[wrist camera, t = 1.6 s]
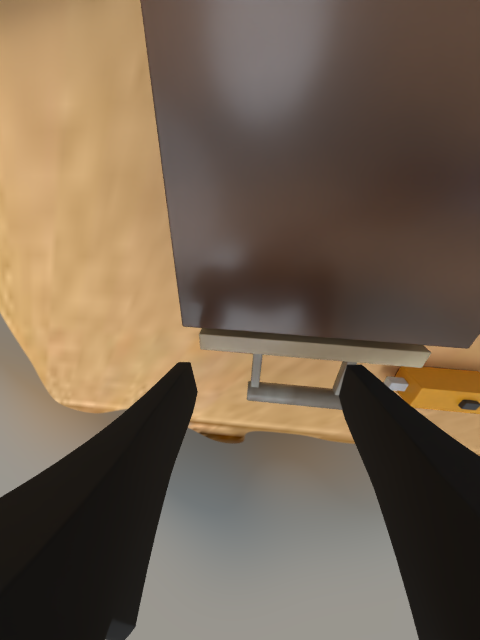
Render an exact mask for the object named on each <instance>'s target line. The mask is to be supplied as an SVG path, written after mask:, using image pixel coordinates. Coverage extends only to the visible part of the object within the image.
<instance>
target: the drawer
mask: <svg viewBox="0 0 480 640" xmlns="http://www.w3.org/2000/svg"><path fill="white" fill-rule="evenodd" d="M199 338H200V349H204V350H215V351H227V352H239V353H251V354H253V363H252V375H251V381H248V392H247V400H249V401H259V402H269V403H279V404H289V405H299V406H309V407H319V408H329V409H339V410H342V407H341V403H340V399H339V393H340V389H341V385H342V381H343V377H344V374H345V370H346V366H347V365H356V364H357V363H369V364H381V365H392V366H404V367H416V368H422V367H423V365H424V364H425V362H426V360H427V359H428V357H429V356H430V354H431V352H430V351H429V350H428V349H427V348H426V347H424V346H423V345H416V344H403V343H390V342H377V341H364V340H351V339H338V338H326V337H313V336H300V335H287V334H274V333H261V332H248V331H236V330H223V329H210V328H202V329H201V331H200V333H199ZM262 355H274V356H286V357H298V358H310V359H322V360H333V361H343V362H342V365H341V367H340V370H339V373H338V375H337V378H336V380H335V383H334V386H333V389H329V388H319V387H308V386H297V385H287V384H276V383H265V382H259V381H260V372H261V364H262Z"/></svg>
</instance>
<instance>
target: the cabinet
mask: <svg viewBox="0 0 480 640" xmlns="http://www.w3.org/2000/svg"><path fill="white" fill-rule="evenodd" d="M140 1H141V8H142V16H143V24H144V31H145V39H146V47H147V55H148V62H149V70H150V78H151V86H152V93H153V101H154V109H155V116H156V124H157V132H158V140H159V147H160V155H161V163H162V171H163V178H164V186H165V194H166V201H167V209H168V217H169V225H170V232H171V240H172V248H173V255H174V263H175V271H176V279H177V286H178V294H179V302H180V310H181V317H182V325H183V326H184V327H197V328H210V329H223V330H236V331H248V332H261V333H274V334H287V335H300V336H313V337H326V338H338V339H351V340H364V341H377V342H390V343H403V344H416V345H428V346H441V347H454V348H469V347H470V346H471V345H472V343H473V342H474V341H475V339H476V338H477V337H478V335H479V334H480V0H140Z"/></svg>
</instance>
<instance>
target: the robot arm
mask: <svg viewBox="0 0 480 640" xmlns="http://www.w3.org/2000/svg"><path fill="white" fill-rule="evenodd" d="M197 392H198V391H197V387H196V383H195V379H194V375H193V371H192V367H191V363H190V362H178V363H177V364H176V365H175V366H174V367H173V368H172V369H171V370H170V371H169V372H168V373H167V374H166V375H165V376H164V377H163V378H162V379H160V380H159V381H158V382H157V383H156V384H155V385H154V386H153V387H152V388H151V389H150V390H149V391H148V392H147V393H146V394H145V395H144V396H142V397H141V398H140V399H139V400H138V401H137V402H136V403H134V404H133V405H132V406H131V407H130V408H129V409H128V410H126V411H125V412H124V413H123V414H122V415H121V416H119V417H118V418H117V419H116V420H114V421H113V422H112V423H111V424H110V425H108V426H107V427H106V428H104V429H103V430H102V431H100V432H99V433H98V434H96V435H95V436H94V437H92V438H91V439H90V440H88V441H87V442H85V443H84V444H83V445H81V446H80V447H78V448H77V449H75V450H74V451H73V452H71V453H70V454H68V455H67V456H65V457H64V458H62V459H61V460H59V461H58V462H57V463H55V464H54V465H52V466H50V467H49V468H47V469H46V470H44V471H43V472H41V473H40V474H38V475H36V476H35V477H33V478H32V479H30V480H29V481H27V482H25V483H24V484H22V485H20V486H19V487H17V488H16V489H14V490H12V491H10V492H9V493H7V494H5V495H4V496H3V497H1V498H0V640H105V639H106V640H125V639H126V638H127V637H128V636H129V634H130V633H131V632H132V631H133V629H134V628H135V626H136V621H137V616H138V611H139V606H140V602H141V597H142V592H143V587H144V583H145V578H146V573H147V569H148V564H149V560H150V556H151V551H152V547H153V543H154V538H155V534H156V530H157V525H158V522H159V518H160V514H161V510H162V506H163V502H164V498H165V495H166V491H167V487H168V484H169V480H170V476H171V473H172V470H173V467H174V463H175V460H176V458H177V455H178V452H179V450H180V447H181V444H182V441H183V438H184V436H185V433H186V430H187V428H188V425H189V422H190V419H191V416H192V413H193V410H194V406H195V401H196V397H197ZM339 399H340V403H341V407H342V410H343V413H344V417H345V420H346V422H347V425H348V427H349V429H350V432H351V434H352V437H353V439H354V441H355V444H356V446H357V449H358V451H359V453H360V456H361V458H362V460H363V463H364V465H365V467H366V470H367V472H368V474H369V477H370V480H371V482H372V485H373V487H374V490H375V493H376V496H377V499H378V502H379V505H380V508H381V511H382V514H383V517H384V520H385V523H386V527H387V530H388V533H389V536H390V539H391V543H392V546H393V549H394V552H395V555H396V558H397V562H398V566H399V569H400V573H401V576H402V580H403V583H404V587H405V590H406V593H407V597H408V600H409V604H410V608H411V611H412V615H413V619H414V623H415V626H416V630H417V634H418V638H419V640H480V456H478V455H477V454H475V453H474V452H472V451H471V450H469V449H468V448H466V447H465V446H464V445H462V444H461V443H459V442H458V441H456V440H455V439H454V438H452V437H451V436H450V435H448V434H447V433H445V432H444V431H443V430H441V429H440V428H439V427H437V426H436V425H435V424H434V423H432V422H431V421H430V420H428V419H427V418H426V417H424V416H423V415H422V414H420V413H419V412H418V411H417V410H415V409H414V408H413V407H412V406H410V405H409V404H408V403H407V402H405V401H404V400H403V399H402V398H401V397H399V396H398V395H397V394H396V393H395V392H393V391H392V390H391V389H390V388H389V387H387V386H386V385H385V384H384V383H383V382H382V381H380V380H379V379H378V378H377V377H376V376H374V375H373V374H372V373H371V372H370V371H369V370H367V369H366V368H365V367H364V366H362V365H347V366H346V370H345V374H344V377H343V381H342V385H341V389H340V393H339Z"/></svg>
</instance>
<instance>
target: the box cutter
mask: <svg viewBox="0 0 480 640" xmlns="http://www.w3.org/2000/svg"><path fill="white" fill-rule="evenodd" d="M383 383H384V384H385V385H386V386H387V387H389V388H390V389H391V390H395V391H397V392H398V393H399V394H400V396H401V397H402V398H403V400H404V401H405V402H407V403H408V404H409V405H410V406H412V407H413V408H423V409H433V410H443V411H454V412H464V413H474V414H480V372H478V371H468V370H456V369H444V368H432V367H422V368H416V367H404V366H401V367H400V369H399V370H398V372H397V374H396V375H395V377H389V376H387V377H386V379H385V381H384V382H383Z"/></svg>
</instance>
